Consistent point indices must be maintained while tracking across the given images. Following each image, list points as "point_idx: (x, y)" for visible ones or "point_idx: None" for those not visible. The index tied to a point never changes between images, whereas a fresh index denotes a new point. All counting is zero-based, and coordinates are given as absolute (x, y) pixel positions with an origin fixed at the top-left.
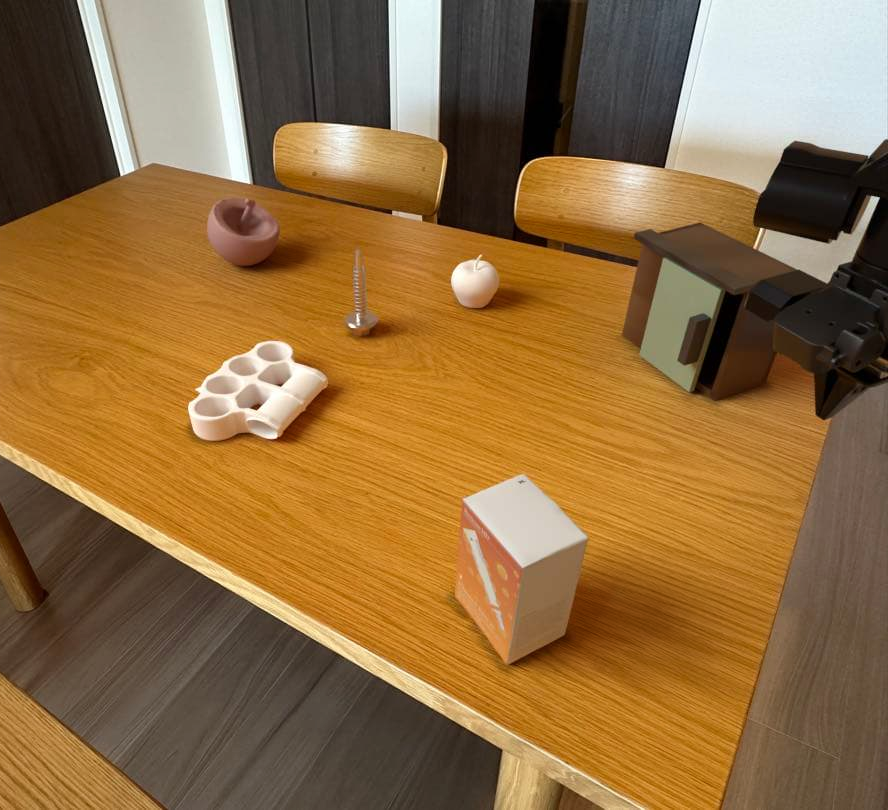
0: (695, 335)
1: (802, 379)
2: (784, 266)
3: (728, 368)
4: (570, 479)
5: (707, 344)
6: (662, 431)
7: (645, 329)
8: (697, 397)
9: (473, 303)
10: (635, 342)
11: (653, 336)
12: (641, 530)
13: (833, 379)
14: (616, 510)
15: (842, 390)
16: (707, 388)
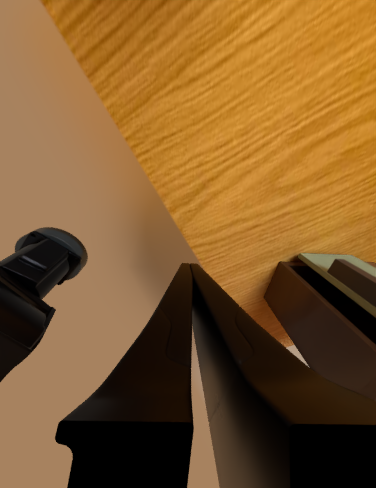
0: (372, 285)
1: (249, 314)
2: None
3: (299, 285)
4: (338, 29)
5: (340, 288)
6: (293, 201)
7: None
8: (290, 255)
9: None
10: None
11: (370, 269)
12: (232, 44)
13: (212, 345)
14: (269, 43)
15: (160, 332)
16: (291, 265)
